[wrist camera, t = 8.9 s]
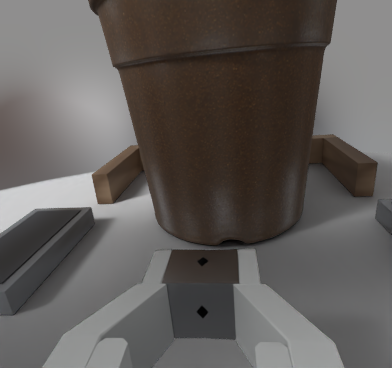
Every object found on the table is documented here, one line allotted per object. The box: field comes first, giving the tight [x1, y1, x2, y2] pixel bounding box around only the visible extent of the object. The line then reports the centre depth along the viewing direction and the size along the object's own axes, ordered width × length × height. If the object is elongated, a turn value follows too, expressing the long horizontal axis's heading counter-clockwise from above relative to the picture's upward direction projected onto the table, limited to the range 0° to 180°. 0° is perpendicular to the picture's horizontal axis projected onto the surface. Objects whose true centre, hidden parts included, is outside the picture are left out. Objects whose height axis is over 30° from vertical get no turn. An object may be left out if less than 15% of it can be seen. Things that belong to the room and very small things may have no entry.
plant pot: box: [88, 0, 337, 245], centre depth 23 cm, size 16×16×16 cm
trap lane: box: [0, 134, 392, 315], centre depth 25 cm, size 32×26×3 cm
